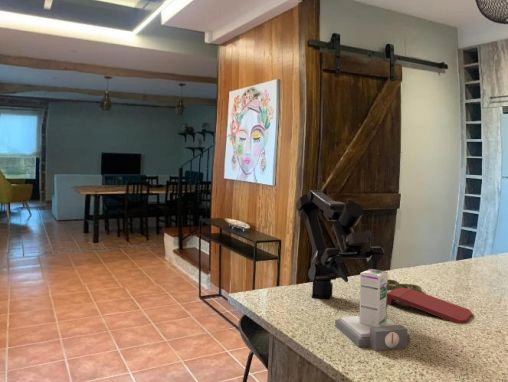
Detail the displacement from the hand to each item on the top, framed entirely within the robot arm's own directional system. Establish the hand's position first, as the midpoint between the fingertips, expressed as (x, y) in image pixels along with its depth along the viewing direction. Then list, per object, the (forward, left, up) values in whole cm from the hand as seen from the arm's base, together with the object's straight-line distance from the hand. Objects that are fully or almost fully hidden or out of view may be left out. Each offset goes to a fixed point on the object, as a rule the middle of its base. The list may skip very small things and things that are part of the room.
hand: (361, 280), depth 123 cm
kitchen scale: (+4, -7, -13) cm, 16 cm away
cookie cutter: (+14, +41, -14) cm, 46 cm away
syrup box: (+3, -5, -10) cm, 12 cm away
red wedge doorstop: (+22, +20, -14) cm, 33 cm away
